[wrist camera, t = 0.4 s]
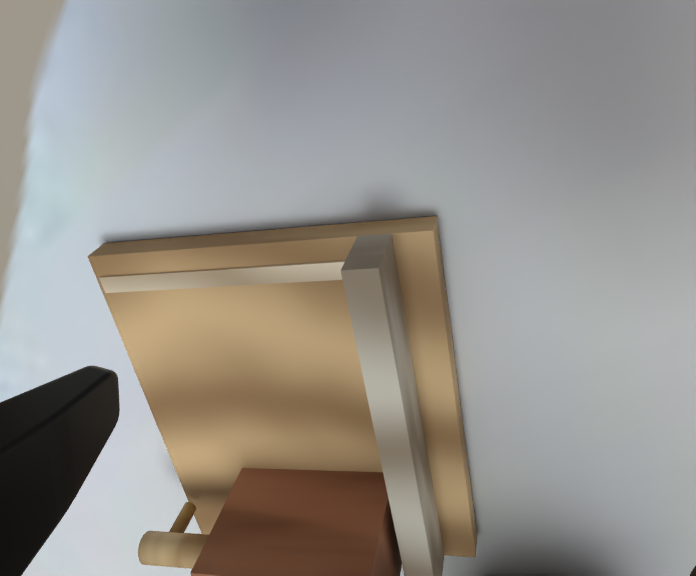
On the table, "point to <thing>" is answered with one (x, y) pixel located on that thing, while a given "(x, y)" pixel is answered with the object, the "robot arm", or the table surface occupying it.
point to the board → (303, 365)
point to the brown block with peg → (287, 528)
